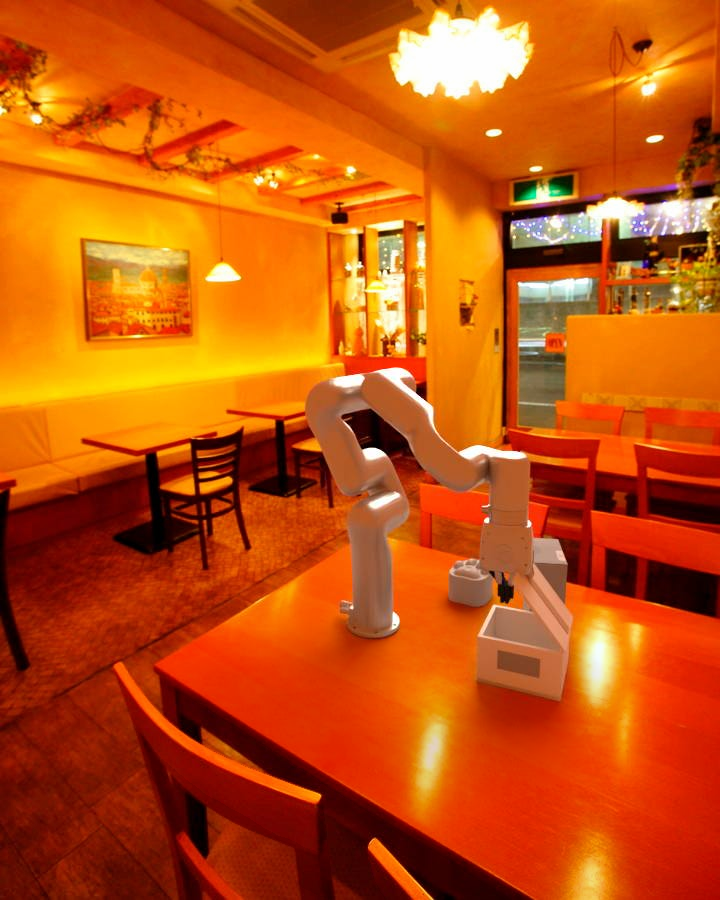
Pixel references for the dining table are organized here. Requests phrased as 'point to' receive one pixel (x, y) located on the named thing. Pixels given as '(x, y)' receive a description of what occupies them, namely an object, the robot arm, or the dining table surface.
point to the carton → (520, 654)
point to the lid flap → (545, 606)
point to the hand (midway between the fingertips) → (505, 600)
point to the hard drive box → (550, 566)
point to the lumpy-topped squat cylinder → (470, 583)
